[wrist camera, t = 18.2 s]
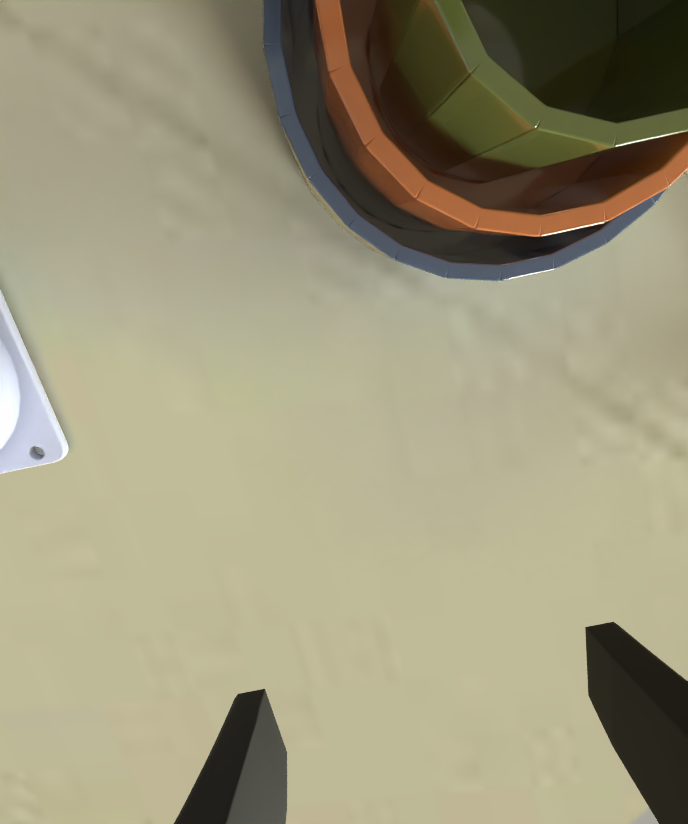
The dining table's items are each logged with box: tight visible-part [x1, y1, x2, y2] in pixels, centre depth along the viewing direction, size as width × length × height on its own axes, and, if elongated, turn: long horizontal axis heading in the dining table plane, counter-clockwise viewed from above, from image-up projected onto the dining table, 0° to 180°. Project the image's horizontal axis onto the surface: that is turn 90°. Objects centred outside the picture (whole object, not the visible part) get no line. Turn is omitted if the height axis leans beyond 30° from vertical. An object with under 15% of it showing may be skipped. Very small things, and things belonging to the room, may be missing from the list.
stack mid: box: [313, 0, 688, 237], centre depth 12 cm, size 8×8×8 cm
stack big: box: [263, 0, 669, 281], centre depth 13 cm, size 10×10×5 cm
